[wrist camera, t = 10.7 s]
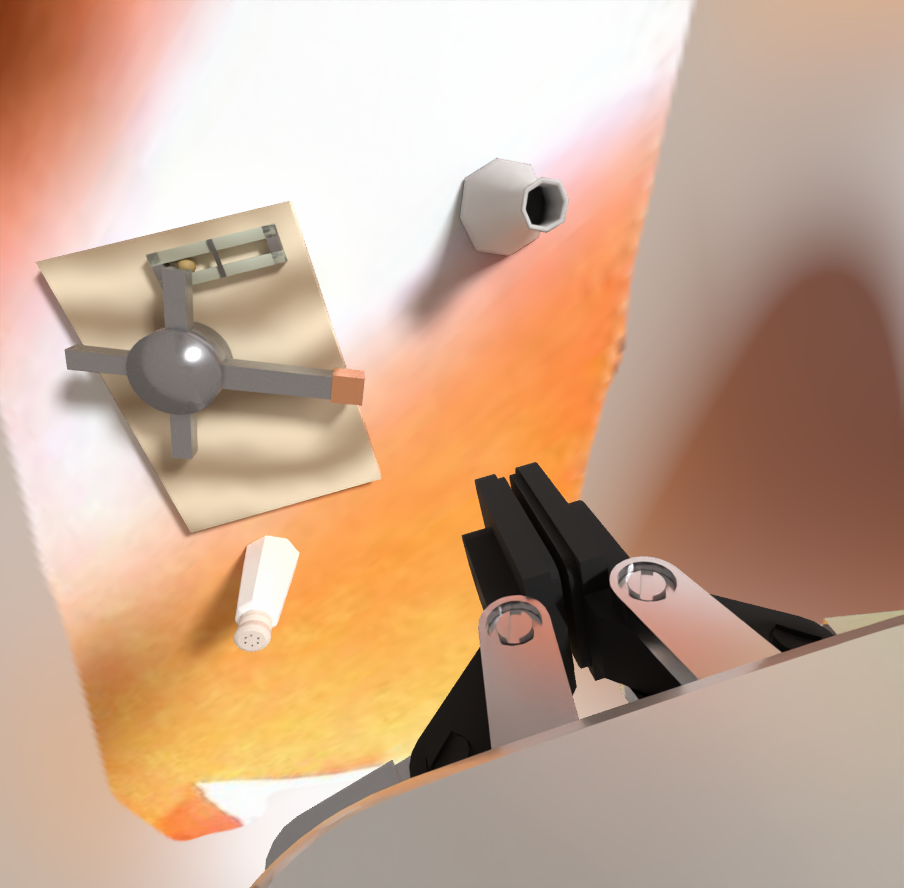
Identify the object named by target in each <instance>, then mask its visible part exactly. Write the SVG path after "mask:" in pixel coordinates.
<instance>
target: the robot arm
mask: <svg viewBox="0 0 904 888" xmlns="http://www.w3.org/2000/svg"><path fill="white" fill-rule="evenodd" d="M515 472H516V474H512V475H510V483H511V487H510V486H509V484H508V482H507V481H506V479H505V478H504V477H502V478H499V479H498V478H497V476H496V475H495V474H493V475H489V476H486V477H482V478H479V479H476V480H475V485H476V490H477V494H478V498H479V503H480V507H481V511H482V516H483V520H484V524H485V528H484V529H481V530H478V531H474V532H471V533H468V534H464V535H462V539H463V543H464V547H465V551H466V555H467V559H468V562H469V566H470V570H471V573H472V576H473V580H474V583H475V586H476V589H477V592H478V595H479V598H480V601H481V604H482V607H483V610H484V611H483V613H482V615H481V617H480V619H479V627H478V630H479V640H480V648H479V649H478V651H477V652H476V654H475V655H474V657H473V658H472V660H471V661H470V663H469V664H468V666H467V667H466V669H465V670H464V672H463V673H462V675H461V676H460V678H459V679H458V681H457V682H456V684H455V685H454V687H453V688H452V690H451V691H450V693H449V694H448V696H447V697H446V699H445V700H444V702H443V703H442V705H441V706H440V708H439V709H438V711H437V712H436V714H435V715H434V717H433V718H432V720H431V721H430V723H429V724H428V726H427V727H426V729H425V730H424V732H423V733H422V735H421V736H420V738H419V739H418V741H417V743H416V745H415V747H414V749H413V751H412V754H411V756H410V757H408V758H406V759H405V760H403V761H401V762H400V763H398V764H396V765H394V762H393V760H391V761H390V762H388V763H386V764H385V765H383V766H381V767H380V768H378V769H376V770H375V771H373V772H371V773H369V774H368V775H366V776H364V777H363V778H361V779H359V780H358V781H356V782H354V783H353V784H351V785H349V786H348V787H346V788H344V789H343V790H341V791H339V792H337V793H336V794H334V795H333V796H331V797H329V798H327V799H326V800H324V801H323V802H321V803H319V804H317V805H316V806H314V807H312V808H311V809H309V810H307V811H305V812H304V813H302V814H301V815H299V816H297V817H296V818H295V819H293V820H292V821H291V822H290V823H289V824H287V825H286V826H285V827H284V828H283V829H282V831H281V832H280V833H279V835H278V836H277V837H276V839H275V840H274V842H273V844H272V846H271V849H270V851H269V854H268V856H267V859H266V866H265V871H264V873H262V874H261V876H260V877H259V878H258V879H257V880H256V881H255V882H254V884H253V885H252V886H251V887H250V888H904V610H898V611H889V612H880V613H869V614H861V615H850V616H841V617H831V618H824V621H823V624H822V625H819V624H817V623H815V622H814V621H811V620H808V619H805V618H802V617H799V616H796V615H792V614H788V613H784V612H780V611H776V610H772V609H768V608H764V607H760V606H756V605H752V604H747V603H743V602H739V601H736V600H732V599H728V598H724V597H719V596H715V595H711V594H708V593H707V592H706V591H705V590H704V589H702V588H701V587H700V586H699V585H697V584H696V583H695V582H694V581H692V580H691V579H690V578H689V577H688V576H686V575H685V574H684V573H682V572H681V571H680V570H679V569H678V568H676V567H675V566H673V565H672V564H670V563H668V562H667V561H664V560H661V559H658V558H653V557H633V558H629V556H628V555H627V554H626V553H625V551H624V550H623V549H622V548H621V547H620V546H619V544H618V543H617V542H616V541H615V539H614V538H613V537H612V536H611V535H610V533H609V532H608V531H607V530H606V528H605V527H604V526H603V525H602V524H601V522H600V521H599V520H598V519H597V517H596V516H595V515H594V514H593V513H592V511H591V510H590V509H589V508H588V507H587V505H586V504H585V503H584V502H583V501H581V500H578V501H575V502H572V503H567V502H566V500H565V499H564V498H563V496H562V495H561V494H560V492H559V491H558V490H557V488H556V487H555V486H554V484H553V483H552V482H551V481H550V479H549V478H548V477H547V475H546V474H545V473H544V471H543V470H542V469H541V467H540V466H539V465H538V464H537V463H536V462H534V463H531V464H527V465H524V466H520V467H517V468H516V469H515ZM572 654H573V656H574V658H575V660H576V662H577V664H578V665H579V667H580V668H581V669H582V668H585V667H588V668H589V670H590V672H591V674H592V675H593V677H594V679H595V681H596V680H600V679H603V678H607V679H610V680H612V681H615V682H617V683H619V684H620V689H621V691H622V693H623V695H624V696H625V698H626V699H627V701H628V702H629V703H628V704H625V705H622V706H619V707H616V708H613V709H610V710H607V711H604V712H601V713H598V714H595V715H592V716H589V717H586V718H583V719H580V720H579V718H578V714H577V710H576V707H575V703H574V700H573V693H574V691H575V689H576V687H577V686H576V680H575V675H574V674H575V673H574V664H573V658H572Z"/></svg>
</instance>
